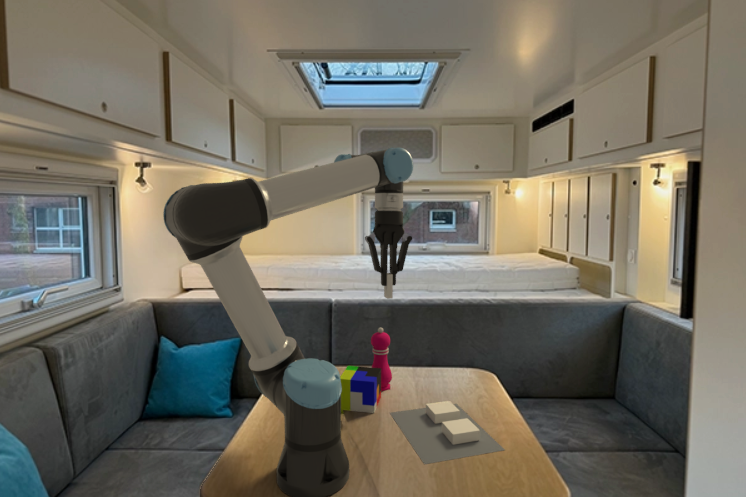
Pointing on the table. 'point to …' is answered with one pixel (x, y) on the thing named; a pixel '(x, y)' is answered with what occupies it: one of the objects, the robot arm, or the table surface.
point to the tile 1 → (442, 412)
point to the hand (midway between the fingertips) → (388, 297)
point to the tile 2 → (460, 431)
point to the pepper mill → (381, 357)
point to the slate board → (440, 437)
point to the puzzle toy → (360, 389)
